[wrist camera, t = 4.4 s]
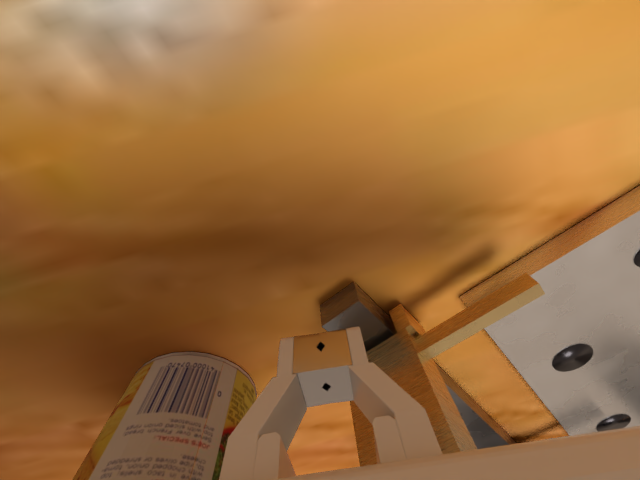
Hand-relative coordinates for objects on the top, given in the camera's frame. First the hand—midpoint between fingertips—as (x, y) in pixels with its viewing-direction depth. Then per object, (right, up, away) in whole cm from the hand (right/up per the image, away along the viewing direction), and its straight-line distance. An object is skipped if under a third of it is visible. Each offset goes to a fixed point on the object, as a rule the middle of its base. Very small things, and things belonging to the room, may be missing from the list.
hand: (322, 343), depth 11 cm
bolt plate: (+20, -3, +8) cm, 21 cm away
